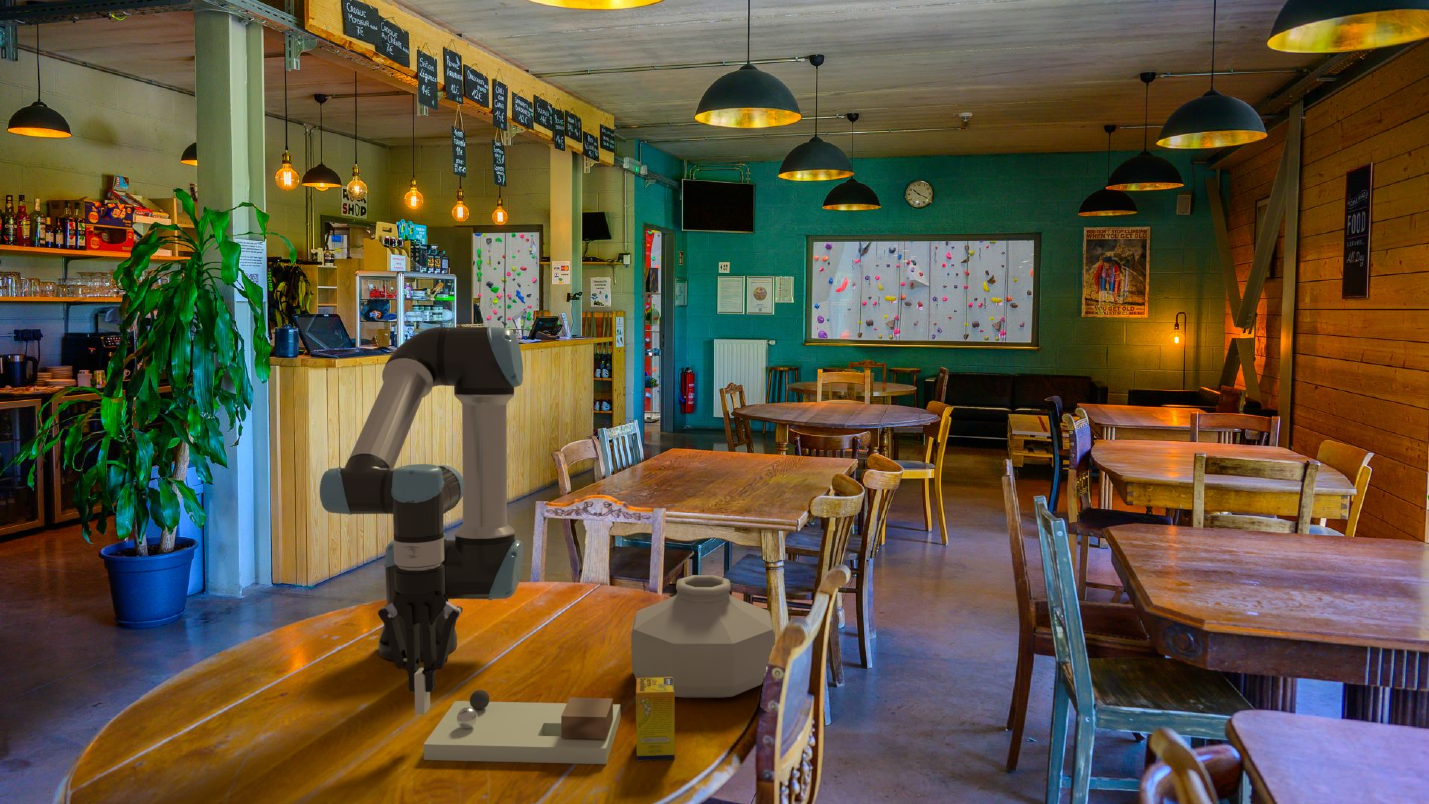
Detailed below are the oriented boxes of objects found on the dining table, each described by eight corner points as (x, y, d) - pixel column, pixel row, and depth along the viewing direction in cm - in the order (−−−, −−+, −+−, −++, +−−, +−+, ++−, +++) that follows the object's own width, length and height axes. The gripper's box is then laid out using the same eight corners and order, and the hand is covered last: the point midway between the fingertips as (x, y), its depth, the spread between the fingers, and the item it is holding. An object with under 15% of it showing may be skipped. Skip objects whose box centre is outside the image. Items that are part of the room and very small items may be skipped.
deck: (423, 759, 147) (423, 744, 147) (455, 715, 163) (455, 701, 163) (606, 764, 146) (606, 748, 146) (620, 718, 162) (620, 704, 162)
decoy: (467, 713, 158) (466, 694, 158) (473, 704, 161) (472, 686, 161) (486, 713, 158) (486, 694, 158) (491, 705, 161) (491, 686, 161)
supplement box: (635, 743, 153) (635, 677, 152) (673, 742, 153) (673, 676, 152) (635, 761, 147) (635, 692, 146) (675, 760, 148) (675, 691, 146)
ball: (454, 731, 151) (453, 712, 151) (460, 723, 154) (460, 703, 154) (474, 732, 151) (474, 712, 151) (480, 723, 154) (479, 704, 154)
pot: (608, 663, 187) (608, 569, 185) (739, 643, 198) (740, 555, 196) (657, 720, 162) (657, 612, 160) (805, 694, 173) (806, 593, 171)
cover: (561, 738, 149) (561, 716, 148) (569, 718, 155) (569, 697, 155) (606, 739, 148) (606, 717, 148) (613, 719, 155) (612, 698, 155)
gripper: (368, 570, 147) (372, 719, 149) (453, 571, 146) (456, 721, 148) (387, 557, 154) (390, 700, 156) (467, 559, 154) (470, 702, 156)
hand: (422, 710), depth 152 cm, fingers closed
